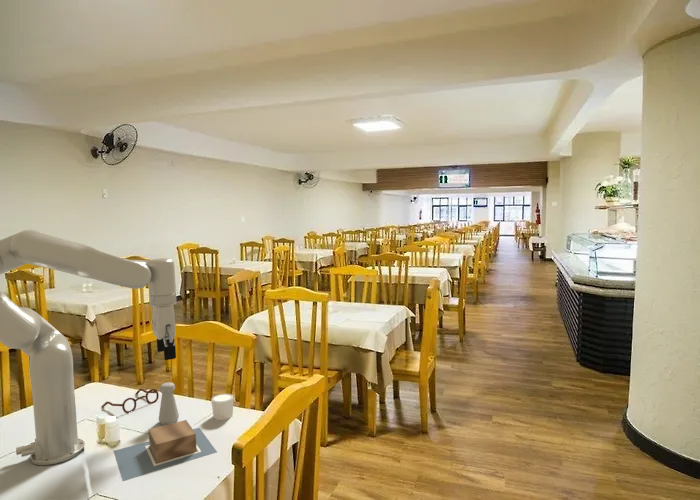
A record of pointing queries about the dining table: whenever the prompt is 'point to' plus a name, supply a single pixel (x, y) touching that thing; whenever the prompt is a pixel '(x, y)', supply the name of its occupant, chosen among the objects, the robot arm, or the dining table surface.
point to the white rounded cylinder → (222, 406)
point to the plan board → (144, 462)
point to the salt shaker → (168, 405)
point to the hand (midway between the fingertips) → (166, 354)
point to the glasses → (136, 399)
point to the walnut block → (172, 441)
